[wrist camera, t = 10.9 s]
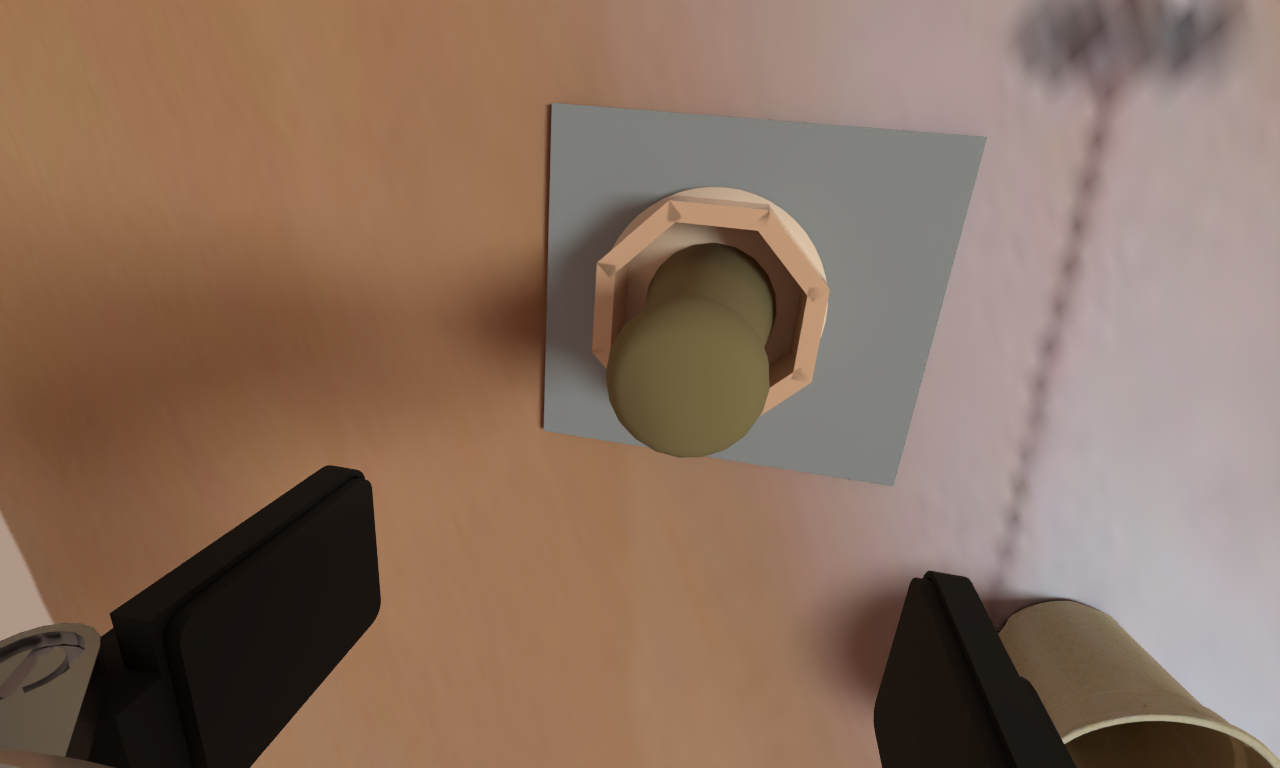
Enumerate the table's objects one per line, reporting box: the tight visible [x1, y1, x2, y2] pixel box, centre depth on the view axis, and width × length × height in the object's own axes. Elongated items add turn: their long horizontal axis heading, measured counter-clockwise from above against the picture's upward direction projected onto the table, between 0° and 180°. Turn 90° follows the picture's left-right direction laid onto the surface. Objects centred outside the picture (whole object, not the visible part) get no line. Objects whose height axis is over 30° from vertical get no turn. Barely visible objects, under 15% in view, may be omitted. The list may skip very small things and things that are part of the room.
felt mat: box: [544, 103, 987, 486], centre depth 29 cm, size 16×18×1 cm
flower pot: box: [998, 601, 1280, 768], centre depth 28 cm, size 9×9×9 cm
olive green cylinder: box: [606, 243, 776, 457], centre depth 23 cm, size 6×6×11 cm
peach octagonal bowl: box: [592, 187, 830, 416], centre depth 27 cm, size 10×10×4 cm
